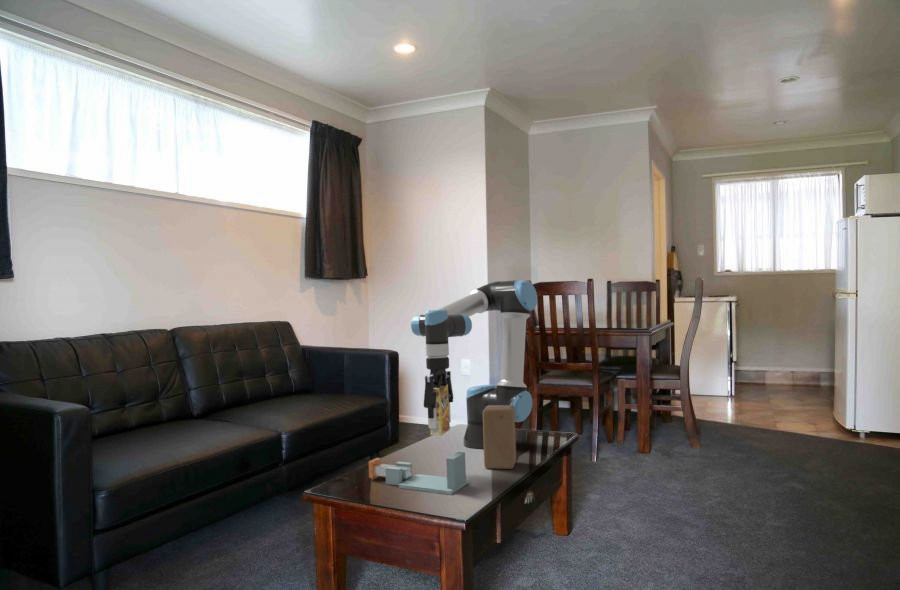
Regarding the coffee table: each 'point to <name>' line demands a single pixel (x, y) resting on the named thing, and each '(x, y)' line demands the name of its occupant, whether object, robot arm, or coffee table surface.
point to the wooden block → (499, 437)
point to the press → (432, 477)
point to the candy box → (441, 411)
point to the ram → (379, 469)
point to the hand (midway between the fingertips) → (439, 425)
